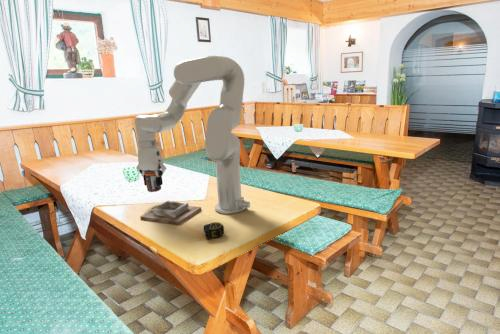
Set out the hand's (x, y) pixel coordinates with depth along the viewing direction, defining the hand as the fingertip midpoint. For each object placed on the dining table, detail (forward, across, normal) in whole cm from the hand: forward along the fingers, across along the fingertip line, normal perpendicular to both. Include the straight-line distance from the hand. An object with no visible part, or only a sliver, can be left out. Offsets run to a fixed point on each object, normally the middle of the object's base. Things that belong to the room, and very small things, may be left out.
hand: (153, 184), depth 155 cm
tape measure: (+10, -41, +21) cm, 47 cm away
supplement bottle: (+3, 0, 0) cm, 3 cm away
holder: (+9, -15, +9) cm, 20 cm away
